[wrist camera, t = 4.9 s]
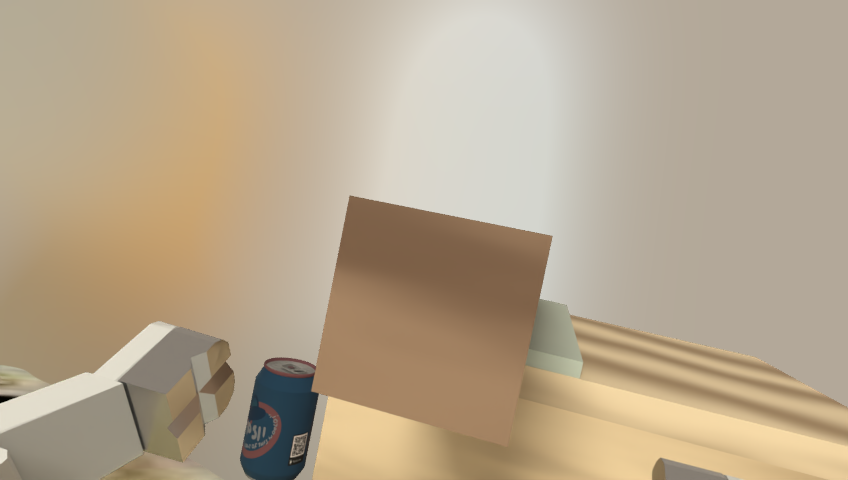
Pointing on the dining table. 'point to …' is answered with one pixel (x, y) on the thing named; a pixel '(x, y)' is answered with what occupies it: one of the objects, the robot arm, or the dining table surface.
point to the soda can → (279, 420)
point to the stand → (612, 422)
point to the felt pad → (554, 341)
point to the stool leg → (431, 317)
